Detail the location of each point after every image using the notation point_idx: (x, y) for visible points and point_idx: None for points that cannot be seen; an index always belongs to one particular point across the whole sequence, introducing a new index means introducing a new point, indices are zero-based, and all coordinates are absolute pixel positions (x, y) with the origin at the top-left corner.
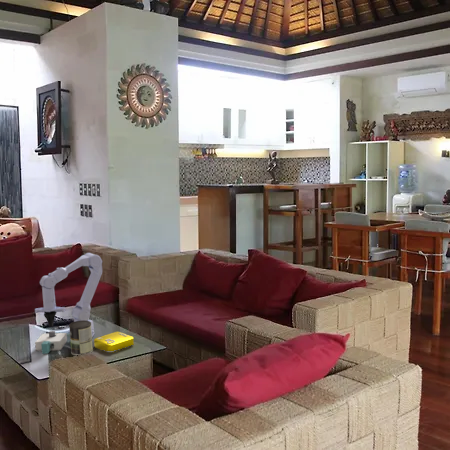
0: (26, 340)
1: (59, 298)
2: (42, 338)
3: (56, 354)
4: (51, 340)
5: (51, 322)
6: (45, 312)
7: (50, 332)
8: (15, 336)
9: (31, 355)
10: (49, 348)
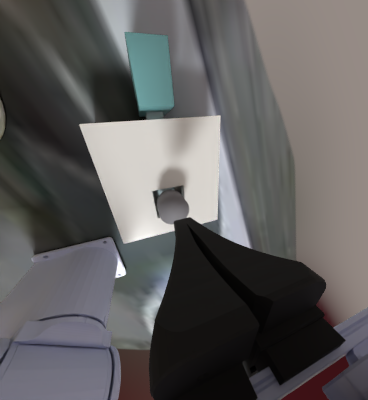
0: (251, 211)
1: None
2: (202, 170)
3: (76, 55)
4: (143, 140)
5: (181, 235)
6: (320, 336)
7: (178, 202)
8: (276, 229)
9: (201, 60)
10: (136, 99)
